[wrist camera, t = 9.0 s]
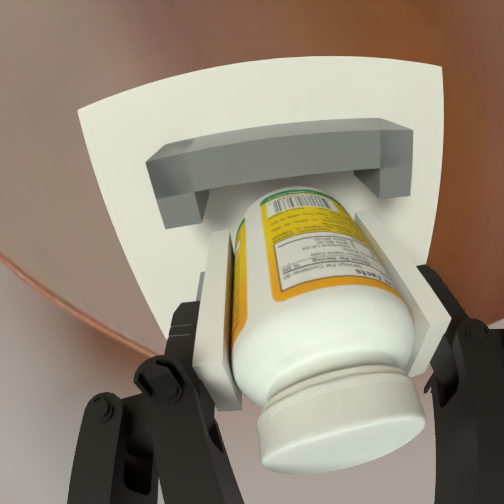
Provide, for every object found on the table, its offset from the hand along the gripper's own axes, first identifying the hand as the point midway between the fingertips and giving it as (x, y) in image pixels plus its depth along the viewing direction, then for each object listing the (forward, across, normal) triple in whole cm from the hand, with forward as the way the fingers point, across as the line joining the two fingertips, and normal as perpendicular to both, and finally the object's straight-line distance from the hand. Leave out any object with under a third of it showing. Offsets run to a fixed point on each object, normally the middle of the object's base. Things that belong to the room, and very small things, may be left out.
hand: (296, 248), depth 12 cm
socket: (+3, 0, 0) cm, 3 cm away
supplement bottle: (+1, 0, 0) cm, 1 cm away
